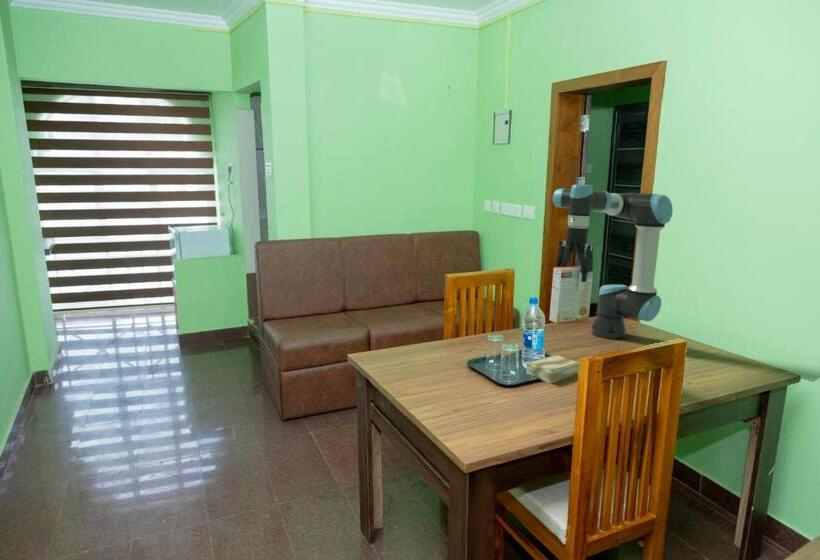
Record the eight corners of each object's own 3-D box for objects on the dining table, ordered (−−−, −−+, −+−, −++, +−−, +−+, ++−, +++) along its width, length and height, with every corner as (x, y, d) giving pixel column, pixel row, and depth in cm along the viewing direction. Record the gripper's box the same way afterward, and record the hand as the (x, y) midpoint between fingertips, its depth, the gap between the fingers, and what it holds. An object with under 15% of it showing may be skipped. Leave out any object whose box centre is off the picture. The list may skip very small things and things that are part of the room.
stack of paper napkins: (526, 373, 199) (526, 362, 198) (555, 364, 209) (556, 354, 208) (550, 383, 190) (551, 371, 189) (579, 373, 201) (580, 362, 200)
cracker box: (579, 318, 212) (584, 265, 208) (588, 323, 207) (594, 268, 202) (547, 320, 208) (553, 266, 204) (556, 324, 202) (562, 269, 198)
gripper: (549, 224, 206) (543, 283, 210) (596, 230, 190) (589, 294, 195) (561, 224, 210) (556, 282, 215) (608, 229, 195) (601, 292, 199)
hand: (571, 287), depth 205 cm, fingers closed on cracker box, 7 cm apart
